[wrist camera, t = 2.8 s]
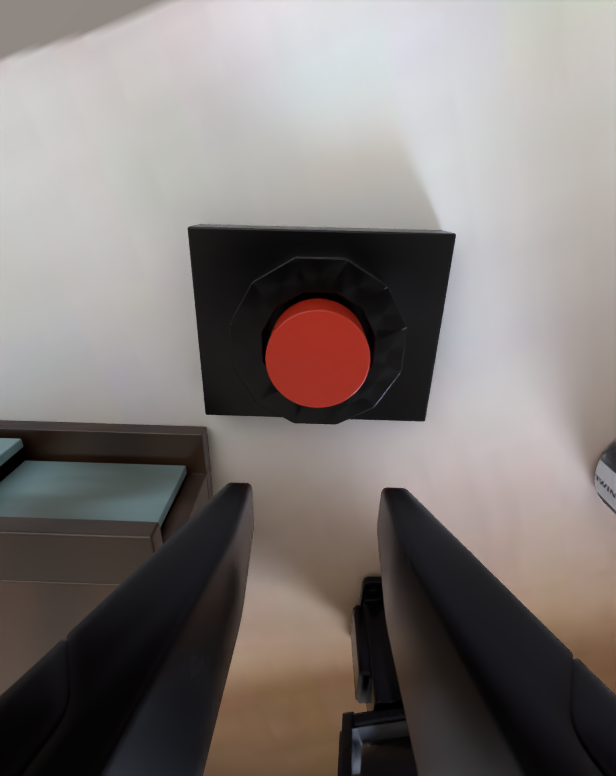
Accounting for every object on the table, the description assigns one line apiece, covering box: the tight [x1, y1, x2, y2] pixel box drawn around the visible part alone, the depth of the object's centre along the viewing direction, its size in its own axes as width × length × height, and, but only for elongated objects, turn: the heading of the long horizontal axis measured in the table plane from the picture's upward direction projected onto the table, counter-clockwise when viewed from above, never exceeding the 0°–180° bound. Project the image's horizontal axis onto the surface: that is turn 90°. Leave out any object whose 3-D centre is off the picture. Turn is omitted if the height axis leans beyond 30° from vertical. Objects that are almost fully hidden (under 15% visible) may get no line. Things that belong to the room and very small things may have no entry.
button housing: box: [188, 224, 456, 424], centre depth 17 cm, size 10×8×4 cm
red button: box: [265, 298, 370, 408], centre depth 15 cm, size 4×4×2 cm
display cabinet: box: [0, 420, 213, 696], centre depth 20 cm, size 18×11×8 cm, turn 89°
